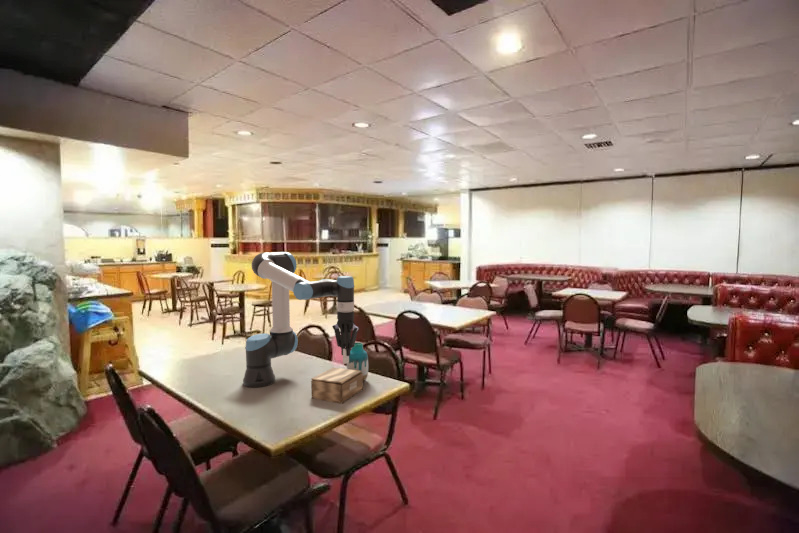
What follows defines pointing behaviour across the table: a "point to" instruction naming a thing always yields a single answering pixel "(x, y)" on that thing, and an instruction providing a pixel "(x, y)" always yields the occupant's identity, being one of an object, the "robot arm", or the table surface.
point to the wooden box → (337, 389)
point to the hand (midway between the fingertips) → (346, 362)
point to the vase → (358, 359)
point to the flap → (336, 375)
